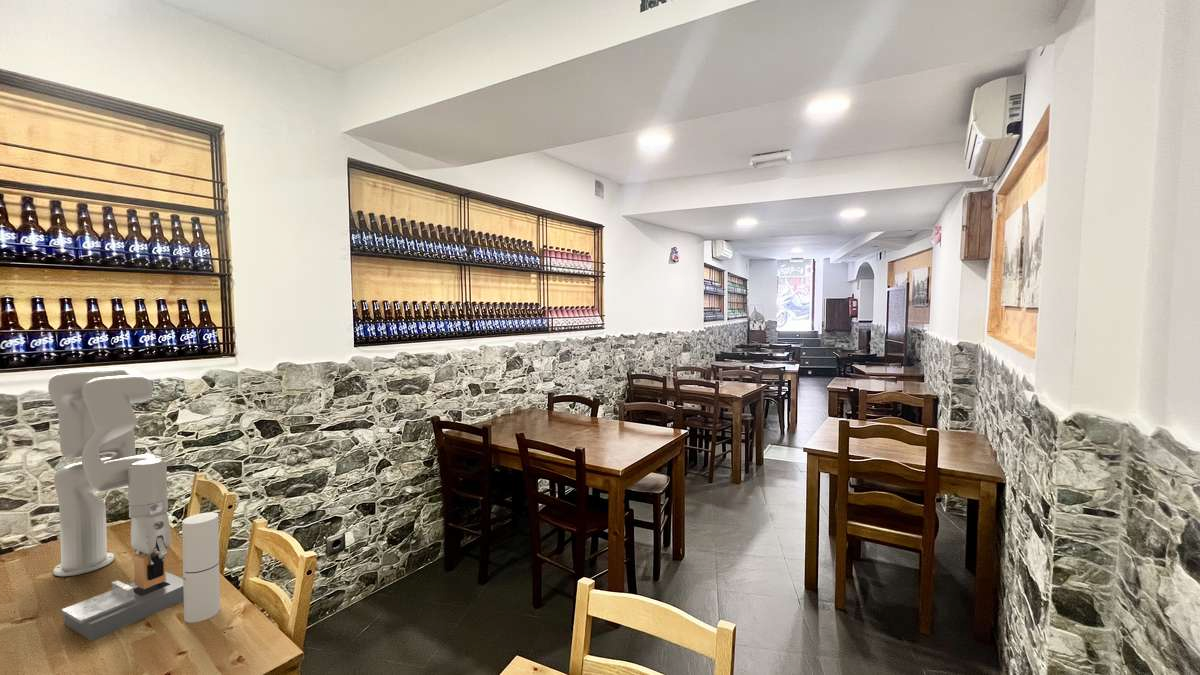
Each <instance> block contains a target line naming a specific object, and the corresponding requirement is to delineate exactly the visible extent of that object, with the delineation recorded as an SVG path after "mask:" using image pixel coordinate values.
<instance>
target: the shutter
mask: <svg viewBox="0 0 1200 675" xmlns="http://www.w3.org/2000/svg"><path fill="white" fill-rule="evenodd" d="M134 602H136V598H134V592H133V587H131V586H129V585H127V584H126V583H124V582H122V581H120V580H115V581H112V582H111V590H108V591H105V592H103V593H101V594H97V595H95V596H93V597H90V598H88V599H84V600H83V601H79V602H78V603H74V604H72V605H69V606H67V607H65V608H64V607H63V608H61V614H63V615H64V614H65V615H66V616H68V617H70V618H72V619H73V620H75V621H77V622H78V623H80V624H82V623H85V622H87V621H89V620H92V619H94V618H97V617H99V616H102V615H104V614H107V613H109V612H111V611H114V610H116V609H119V608H121V607H124V606H126V605H129V604H131V603H134Z"/></svg>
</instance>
